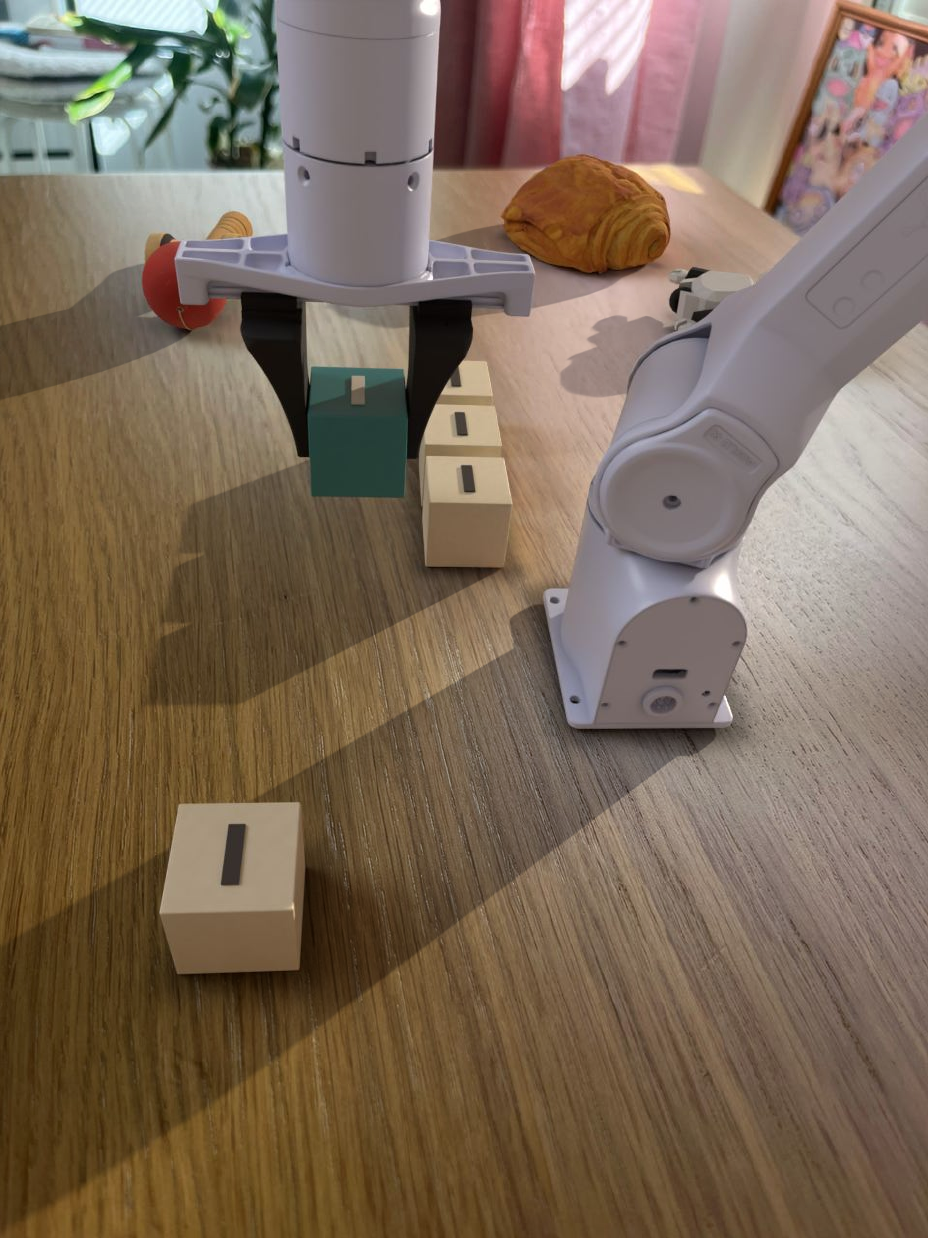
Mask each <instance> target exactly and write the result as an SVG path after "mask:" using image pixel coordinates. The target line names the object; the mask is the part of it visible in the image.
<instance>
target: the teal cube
mask: <svg viewBox="0 0 928 1238" xmlns="http://www.w3.org/2000/svg"><path fill="white" fill-rule="evenodd" d="M405 372H406V371H405V369H404V368H385V367H384V368H383V367H380V368H379V367H350V366H349V367H348V366H345V367H344V366H315V365H314V366H311V367H310V375H309V383H310V389H309V403H308V436H309V457H308V458H309V478H310V479H309V480H310V481H309V482H310V496H311V497H312V498H324V497H325V498H380V499H381V498H382V499H383V498H385V499H386V498H387V499H388V498H390V499H393V498H394V499H405V497H406V481H407V480H406V479H407V477H406V476H407V459H406V456H407V431H408V411H407V398H406V373H405Z"/></svg>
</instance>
